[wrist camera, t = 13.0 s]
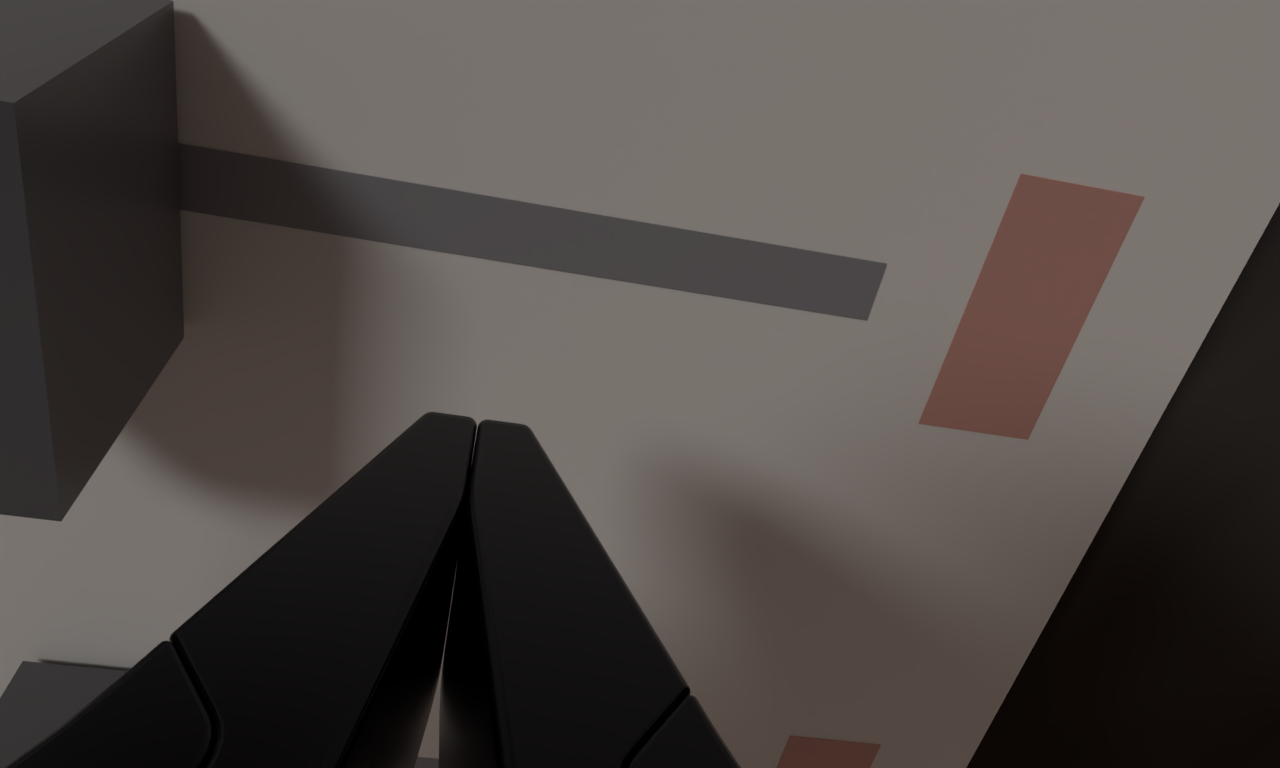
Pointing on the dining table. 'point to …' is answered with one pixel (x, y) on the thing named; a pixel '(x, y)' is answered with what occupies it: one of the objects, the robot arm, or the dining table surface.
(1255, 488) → the dining table surface
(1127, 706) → the dining table surface
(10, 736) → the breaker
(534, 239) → the switch panel
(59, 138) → the block
